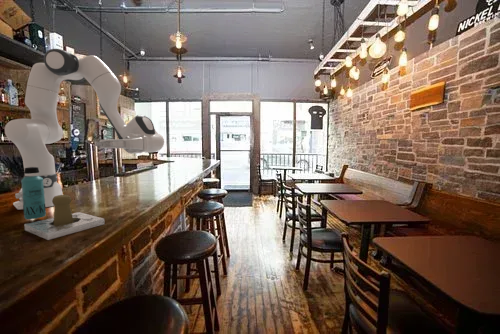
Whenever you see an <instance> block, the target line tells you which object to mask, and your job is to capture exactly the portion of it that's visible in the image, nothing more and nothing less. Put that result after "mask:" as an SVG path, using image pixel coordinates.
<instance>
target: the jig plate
mask: <svg viewBox="0 0 500 334" xmlns="http://www.w3.org/2000/svg"><path fill="white" fill-rule="evenodd" d="M72 216H73V221H74V223H71V224H67V225H58V226H53V223H54V217H52V218H47V219H43V220H37V221H35V222H30V223H29V222H27V223H24V231H25V232H28V233H30V234H33V235H36V236H38V237H40V238H43V239H45V240H47V241H51V240H53V239H57V238H60V237H64V236H66V235H67V236H68V235H71V234H74V233H75V234H76V233H77V232H78V233H79V232H82V231H85V230H89V229H92V228H96V227H99V226H103V225H105V218H103V217H99V216H96V215H91V214H88V213H83V212H80V211H78V212H74V213H72Z"/></svg>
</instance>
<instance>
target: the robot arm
mask: <svg viewBox="0 0 500 334" xmlns="http://www.w3.org/2000/svg"><path fill="white" fill-rule="evenodd" d="M84 80H86V81H87V82H88V84H90V85H91V87H92V88H93V90H94V91H95V94H96V96H97V99H98V103H99V107H100V109H101V111H102V112H103V113H104V115H105V117H106V119H107V120H108V122H109V123H110V125H111V126H112V128H113V130H114V132H115V133H116V136H117V138H118V139H117V138H116V139H115V138H113V139H111V138H110V139H100V140H99V141H95V142H94V146H95V147H99V148H100V149H123V150H124V151H125V152H126V153H128V154H130V155H131V154H142V153H155V152H158V151H160V150H162V149H163V147H164V145H165V139H164V137H163V136H162V135H161V134H160V133H158V131H156V129H155V125H154V123H153V121H152V119H150V117H147V116H146V115H143V114H137V115H136V116H134V117H133V118H132V119H130V121H129V122H128V123H126V122H125V120H124V119H123V117H122V116H121V114H120V113H119V109H118V102H119V97H120V95H121V92H122V86H121V85H122V84H121V82H120V80H119V79H118V78H117V76H116V74H115V73H114V72H113V71H112V69H110V67H109V66H108V65H107V64H106V63H105V62H104V61H102V60H101V58H99V57H98V56H96V55H86V56H85V57H83V58H79V57H78V56H77V55H75V54H73V53H71V52H69V51H67V50H64V49H61V48H50V49H48V50H47V51H46V52H45V53H44V55H43V62H36V63H34V64H33V65H32V67H31V69H30V73H29V75H28V80H27V84H26V90H25V97H24V104H25V106H26V107H27V108H28V110H29V111H30V112H29V113H30V116H31V118H16V119H12V120H10V121H8V122H7V123H6V124H5V126H4V134H5V136H6V138H7V139H8V140H10V142H12V143H13V144H14V145H15V146H16V148H17V149H18V151H19V154H20V156H21V159H22V161H23V162H22V164H23V170H24V171H23V173H24V172H25V168H28V167H38V169H39V173H31V174H25V173H24V175H23V178H24V177H28V176H40V177H42V178H43V185H44V191H45V192H44V196H45V208H48V207H53V206H54V207H55V205H54V204H53V202H52V200H53V198H54V197H55V196H58V195H64V194H63V187H62V185H61V184H60V183H58V175H57V172H56V165H55V157H54V156H53V154H51V153H50V152H49V150H48V148H47V146H46V145H50V144H53V143H54V144H55V143H57V142H59V141H61V139H62V138H63V136H64V131H63V130H64V129H63V128H62V126H61V125H60V124H59V121H58V115H57V105H58V101H59V100H58V99H59V93H60V86H61V83H62V82H63V81H65V82H82V81H84ZM22 195H23V193H22V187H21V188H20V190H19V191H18V193H15V199H19V200H17V201H15V202H13V203H12V204H13V206H14V207H15V209H16V210H23V196H22Z"/></svg>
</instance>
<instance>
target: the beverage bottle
mask: <svg viewBox="0 0 500 334" xmlns="http://www.w3.org/2000/svg"><path fill="white" fill-rule="evenodd" d="M23 173H24V175H25V174H31V173H39V169H38V167H28V168H25V172H24V171H23ZM20 181H21V188H22V193H23V195H22V196H23V209H22V211H23V217H24V219H25V220H34V219H35V220H37V219H40V218H44V217H45V216H47V215H46V214H47V207H45V196H44V192H45V191H44V185H43V178H42V177H40V176H28V177H24V176H23V178H22V179H21V180H20Z"/></svg>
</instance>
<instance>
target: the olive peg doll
mask: <svg viewBox="0 0 500 334" xmlns="http://www.w3.org/2000/svg"><path fill="white" fill-rule="evenodd" d="M52 202H53V204H54V205H55V206H54V211H53V213H54V214H53V218H54V223H53V226H58V225H67V224H71V223H74V221H73V216H72V214H73V213H72V210H71V205H70V204H71V203H72V198H71V196H70V195H69V194H63V195H58V196H55V197H54V198H53V200H52Z"/></svg>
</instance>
